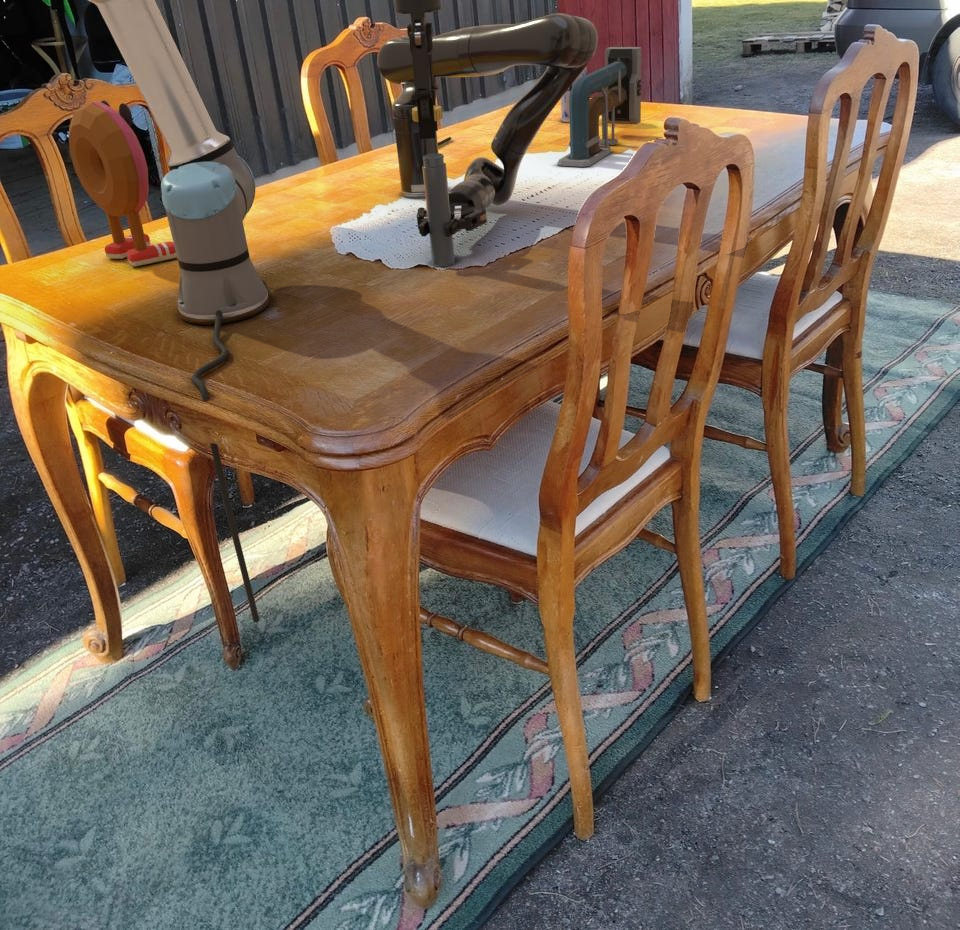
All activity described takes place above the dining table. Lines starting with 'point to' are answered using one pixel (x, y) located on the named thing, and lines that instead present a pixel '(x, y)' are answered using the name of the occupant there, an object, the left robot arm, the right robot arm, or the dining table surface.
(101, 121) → the toy
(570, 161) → the clamp
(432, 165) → the tube
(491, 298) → the dining table surface
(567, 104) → the aerosol can
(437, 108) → the lid
